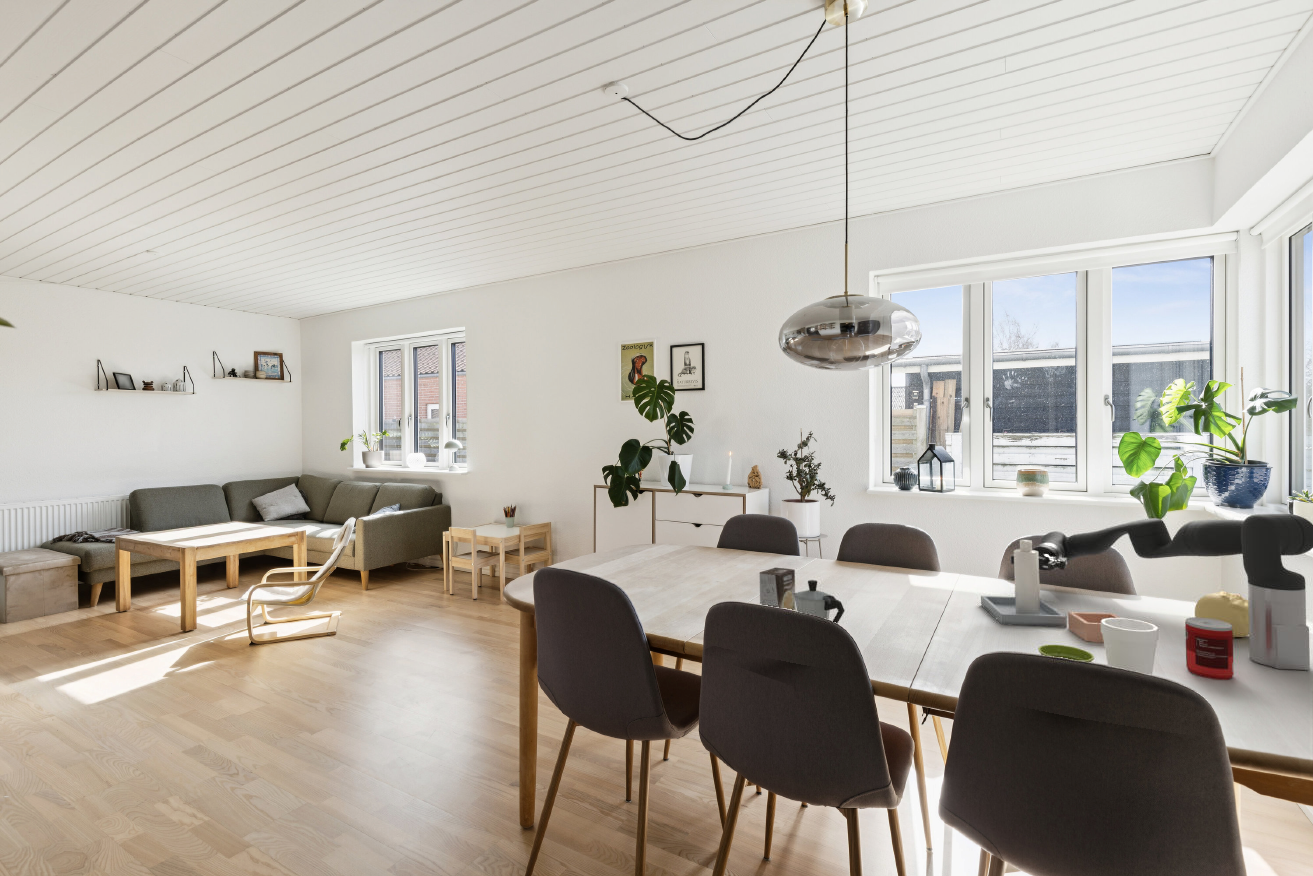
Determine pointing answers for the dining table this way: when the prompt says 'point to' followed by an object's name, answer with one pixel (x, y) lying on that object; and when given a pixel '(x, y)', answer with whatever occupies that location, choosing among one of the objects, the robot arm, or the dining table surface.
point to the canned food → (1209, 648)
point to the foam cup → (1130, 643)
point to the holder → (1088, 624)
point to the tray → (1007, 614)
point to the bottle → (1026, 579)
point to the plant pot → (1066, 652)
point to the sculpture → (1225, 611)
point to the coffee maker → (817, 602)
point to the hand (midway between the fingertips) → (1032, 565)
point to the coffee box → (778, 588)
